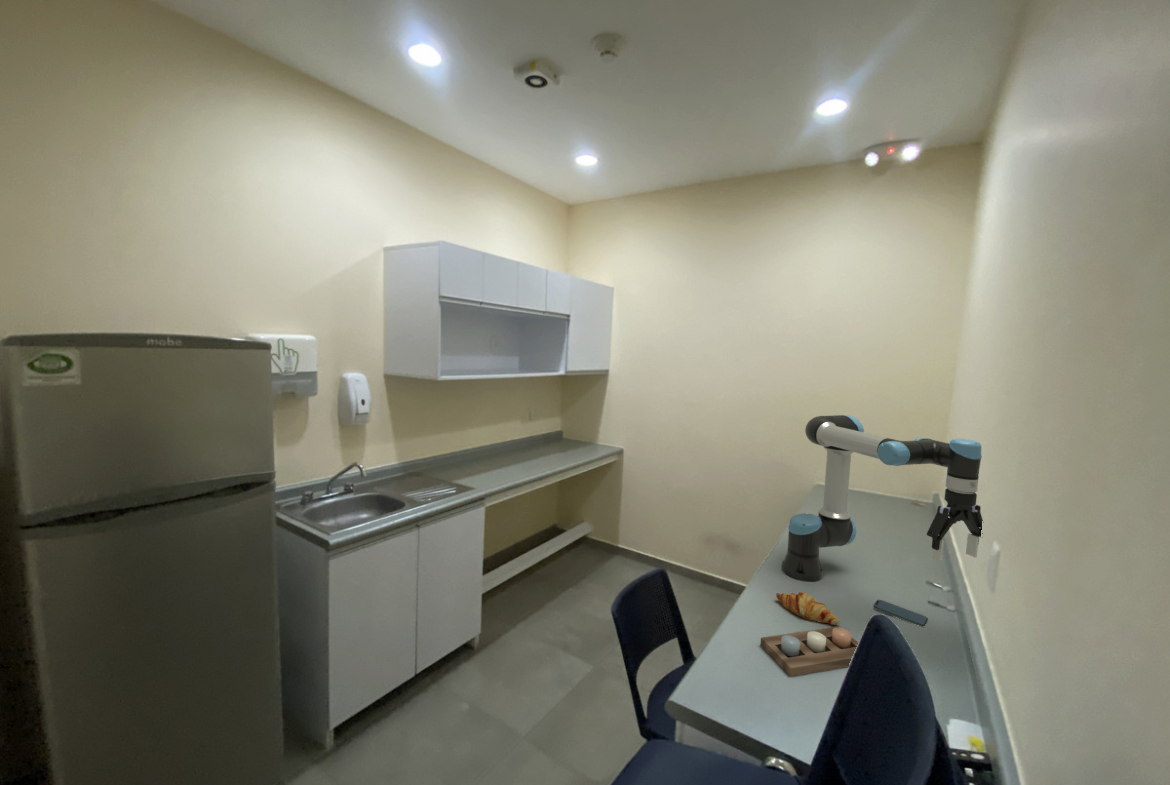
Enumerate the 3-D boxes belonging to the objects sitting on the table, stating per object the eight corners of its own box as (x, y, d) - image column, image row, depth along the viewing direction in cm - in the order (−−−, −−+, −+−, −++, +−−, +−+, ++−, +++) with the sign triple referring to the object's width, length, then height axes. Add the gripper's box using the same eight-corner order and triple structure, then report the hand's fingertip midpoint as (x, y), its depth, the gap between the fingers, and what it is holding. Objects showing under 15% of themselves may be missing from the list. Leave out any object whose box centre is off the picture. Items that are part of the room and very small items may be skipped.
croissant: (840, 633, 157) (846, 609, 158) (833, 631, 150) (839, 606, 152) (778, 606, 171) (783, 584, 173) (768, 603, 165) (774, 580, 167)
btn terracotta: (828, 639, 144) (828, 628, 144) (841, 637, 145) (842, 626, 145) (840, 649, 139) (841, 638, 139) (854, 647, 140) (855, 636, 140)
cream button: (803, 643, 142) (803, 632, 142) (817, 641, 143) (817, 630, 143) (814, 653, 137) (815, 642, 137) (829, 651, 138) (829, 640, 138)
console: (760, 645, 144) (760, 637, 144) (837, 633, 150) (837, 626, 150) (790, 676, 130) (791, 668, 130) (873, 662, 137) (873, 654, 137)
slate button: (777, 647, 140) (777, 636, 139) (791, 644, 141) (792, 634, 141) (788, 658, 135) (788, 646, 135) (802, 655, 136) (803, 644, 136)
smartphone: (924, 626, 154) (872, 606, 165) (923, 630, 154) (872, 610, 165) (928, 616, 160) (878, 598, 170) (927, 621, 160) (877, 602, 170)
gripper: (940, 496, 135) (933, 566, 137) (1005, 491, 141) (998, 559, 143) (916, 488, 142) (910, 555, 145) (979, 484, 148) (972, 548, 151)
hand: (954, 557), depth 144 cm, fingers open, 13 cm apart
